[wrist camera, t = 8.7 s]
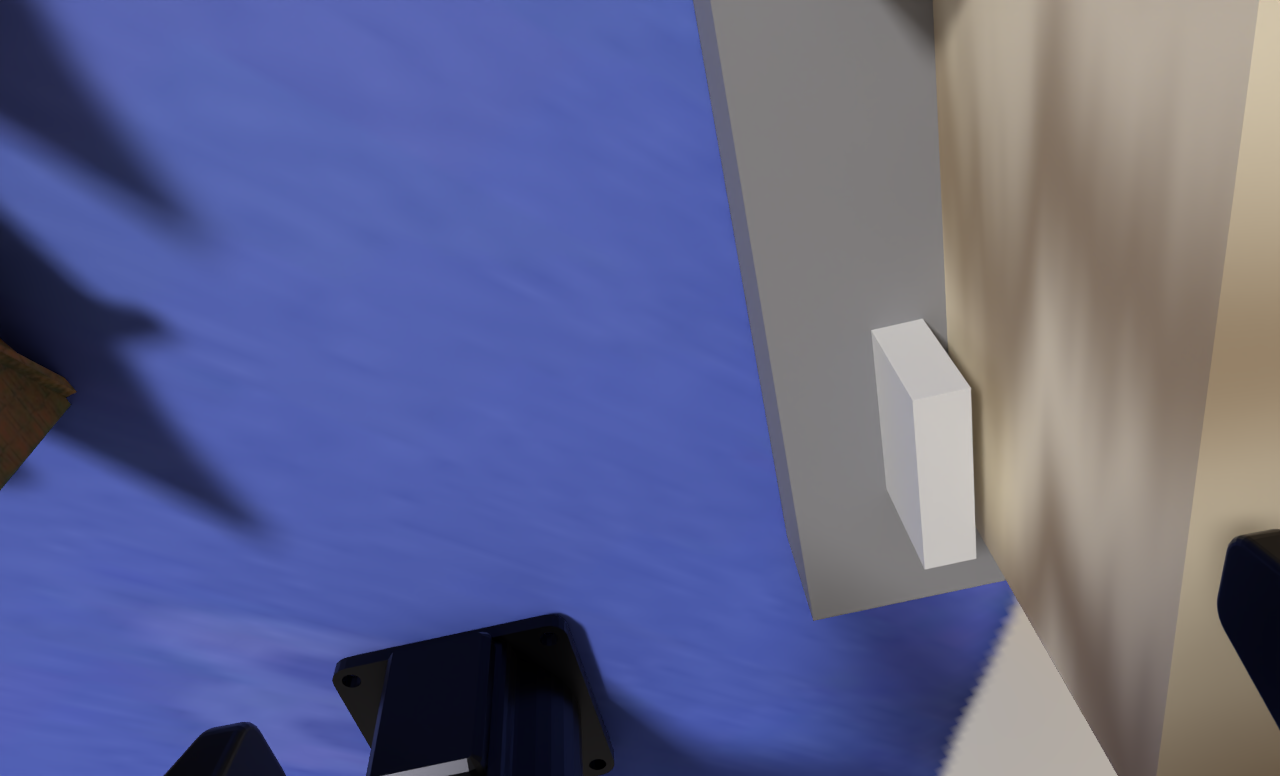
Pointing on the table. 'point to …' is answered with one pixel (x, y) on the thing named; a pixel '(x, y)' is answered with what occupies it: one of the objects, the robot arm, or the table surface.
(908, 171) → the hinge plinth
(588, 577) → the table surface
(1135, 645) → the birch door
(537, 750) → the robot arm
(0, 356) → the miniature gate
